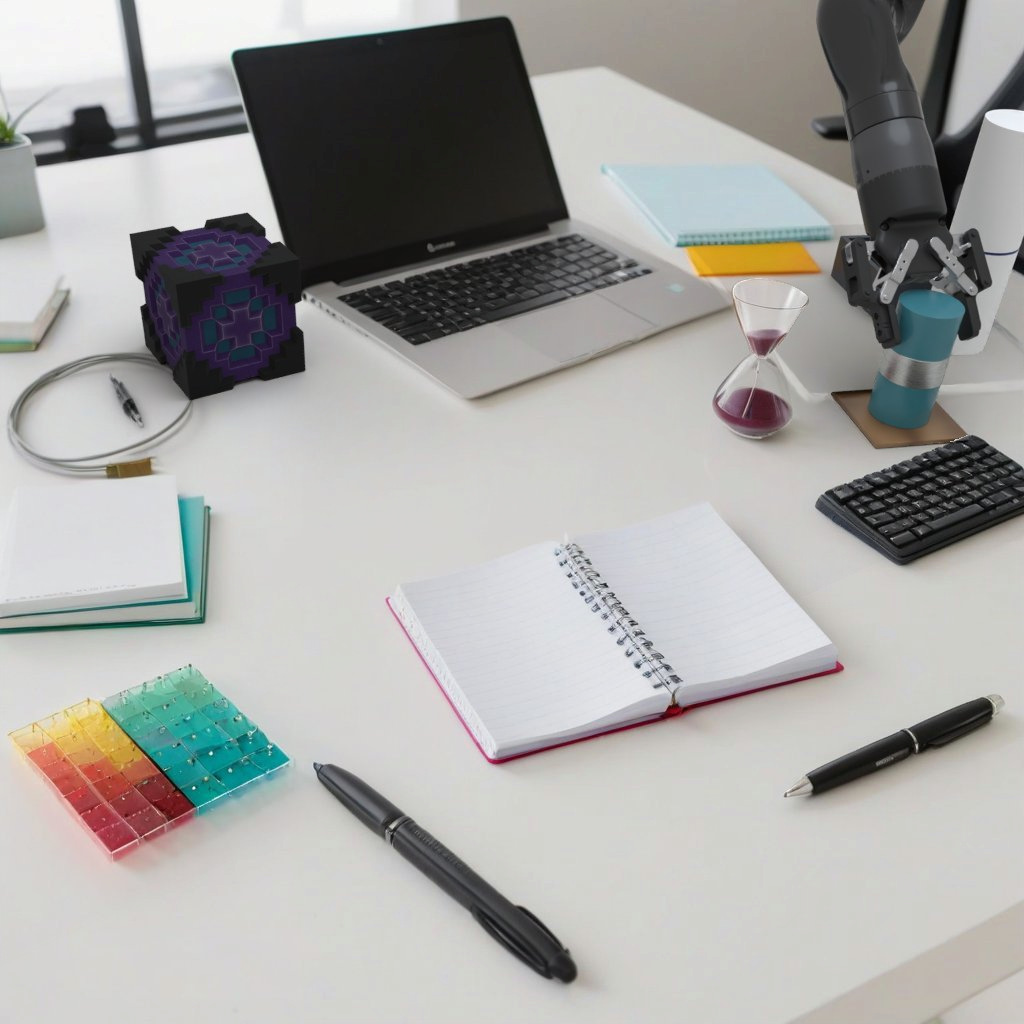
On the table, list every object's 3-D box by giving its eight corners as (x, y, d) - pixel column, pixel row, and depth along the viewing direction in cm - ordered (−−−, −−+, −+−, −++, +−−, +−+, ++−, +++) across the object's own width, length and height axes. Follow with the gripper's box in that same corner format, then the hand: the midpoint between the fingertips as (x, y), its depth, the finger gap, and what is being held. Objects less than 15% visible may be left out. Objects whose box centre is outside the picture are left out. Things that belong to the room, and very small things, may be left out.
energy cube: (189, 400, 109) (175, 284, 102) (145, 345, 117) (129, 233, 110) (305, 370, 115) (299, 258, 108) (256, 319, 123) (247, 212, 116)
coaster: (918, 388, 120) (920, 384, 120) (969, 441, 112) (970, 437, 112) (830, 394, 118) (831, 390, 118) (875, 448, 110) (877, 444, 110)
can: (911, 394, 118) (944, 287, 111) (941, 427, 113) (978, 317, 106) (856, 398, 116) (887, 290, 109) (884, 431, 112) (918, 320, 105)
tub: (913, 278, 142) (927, 232, 138) (961, 322, 133) (977, 274, 129) (828, 282, 139) (840, 235, 136) (871, 327, 130) (885, 278, 127)
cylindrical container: (916, 356, 125) (988, 127, 110) (914, 327, 131) (982, 105, 116) (984, 367, 124) (1066, 138, 109) (979, 337, 130) (1056, 115, 115)
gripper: (852, 166, 105) (889, 338, 103) (984, 158, 109) (1021, 323, 107) (811, 199, 112) (844, 361, 110) (936, 191, 116) (970, 346, 114)
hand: (931, 342), depth 109 cm, fingers open, 8 cm apart
